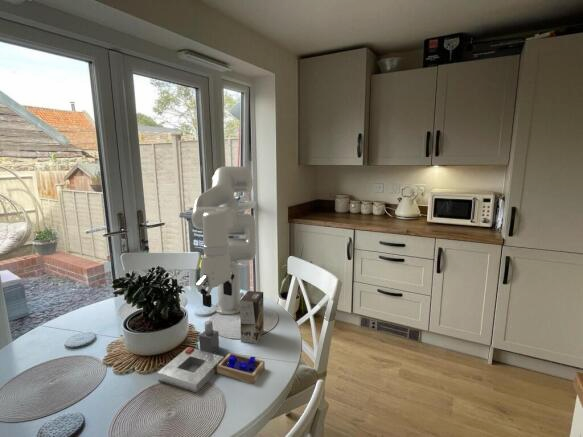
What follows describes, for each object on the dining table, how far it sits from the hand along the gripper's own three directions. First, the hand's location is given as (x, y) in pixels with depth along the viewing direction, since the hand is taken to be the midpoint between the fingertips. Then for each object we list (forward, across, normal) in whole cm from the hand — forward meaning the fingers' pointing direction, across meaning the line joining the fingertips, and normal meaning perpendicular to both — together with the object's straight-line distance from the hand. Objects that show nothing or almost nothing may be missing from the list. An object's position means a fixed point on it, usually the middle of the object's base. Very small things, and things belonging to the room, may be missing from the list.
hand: (217, 300), depth 105 cm
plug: (+20, -1, -6) cm, 21 cm away
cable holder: (+20, +2, +11) cm, 23 cm away
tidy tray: (+20, +3, +11) cm, 23 cm away
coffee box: (+20, -15, +2) cm, 25 cm away
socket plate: (+20, +11, -2) cm, 23 cm away
